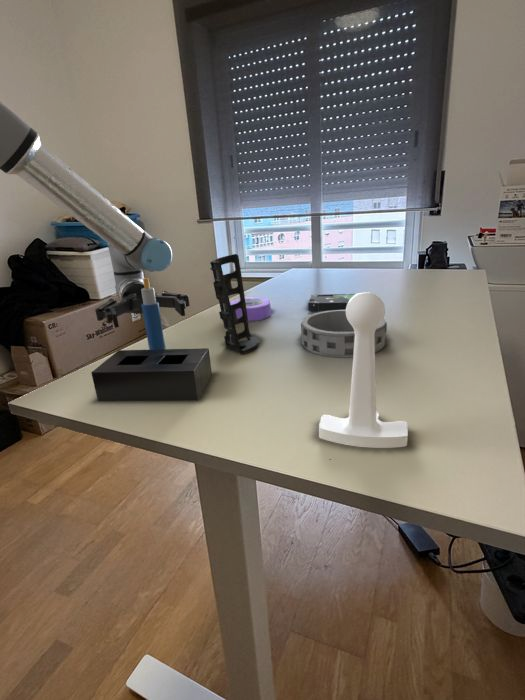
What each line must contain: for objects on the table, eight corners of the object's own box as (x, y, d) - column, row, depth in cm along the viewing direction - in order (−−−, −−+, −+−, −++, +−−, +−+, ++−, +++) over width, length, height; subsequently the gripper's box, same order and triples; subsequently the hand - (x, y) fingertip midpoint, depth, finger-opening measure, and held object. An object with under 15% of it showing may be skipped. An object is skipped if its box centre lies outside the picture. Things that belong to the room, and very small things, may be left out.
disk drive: (308, 312, 114) (362, 311, 111) (307, 303, 113) (362, 301, 110) (311, 303, 123) (361, 302, 120) (310, 294, 122) (361, 292, 119)
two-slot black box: (198, 404, 66) (193, 370, 64) (98, 404, 69) (91, 372, 67) (212, 378, 76) (208, 348, 74) (124, 379, 78) (118, 350, 76)
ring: (291, 335, 96) (290, 315, 94) (361, 325, 99) (361, 305, 98) (319, 363, 79) (319, 339, 77) (403, 349, 83) (404, 326, 81)
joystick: (317, 446, 53) (314, 297, 46) (325, 417, 60) (323, 283, 53) (407, 456, 50) (418, 297, 43) (404, 424, 57) (414, 282, 50)
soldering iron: (149, 368, 83) (134, 280, 76) (155, 362, 86) (140, 277, 79) (165, 367, 82) (150, 279, 76) (170, 361, 85) (156, 276, 79)
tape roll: (274, 319, 110) (273, 305, 109) (231, 323, 108) (230, 309, 107) (267, 308, 121) (266, 295, 119) (228, 312, 119) (227, 299, 118)
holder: (258, 353, 86) (241, 258, 79) (223, 358, 86) (203, 264, 80) (260, 336, 96) (245, 251, 89) (229, 341, 97) (211, 257, 90)
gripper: (186, 303, 108) (210, 322, 89) (86, 319, 99) (89, 344, 80) (183, 274, 105) (206, 288, 87) (79, 288, 96) (81, 307, 78)
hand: (150, 315), depth 83 cm, fingers open, 13 cm apart
